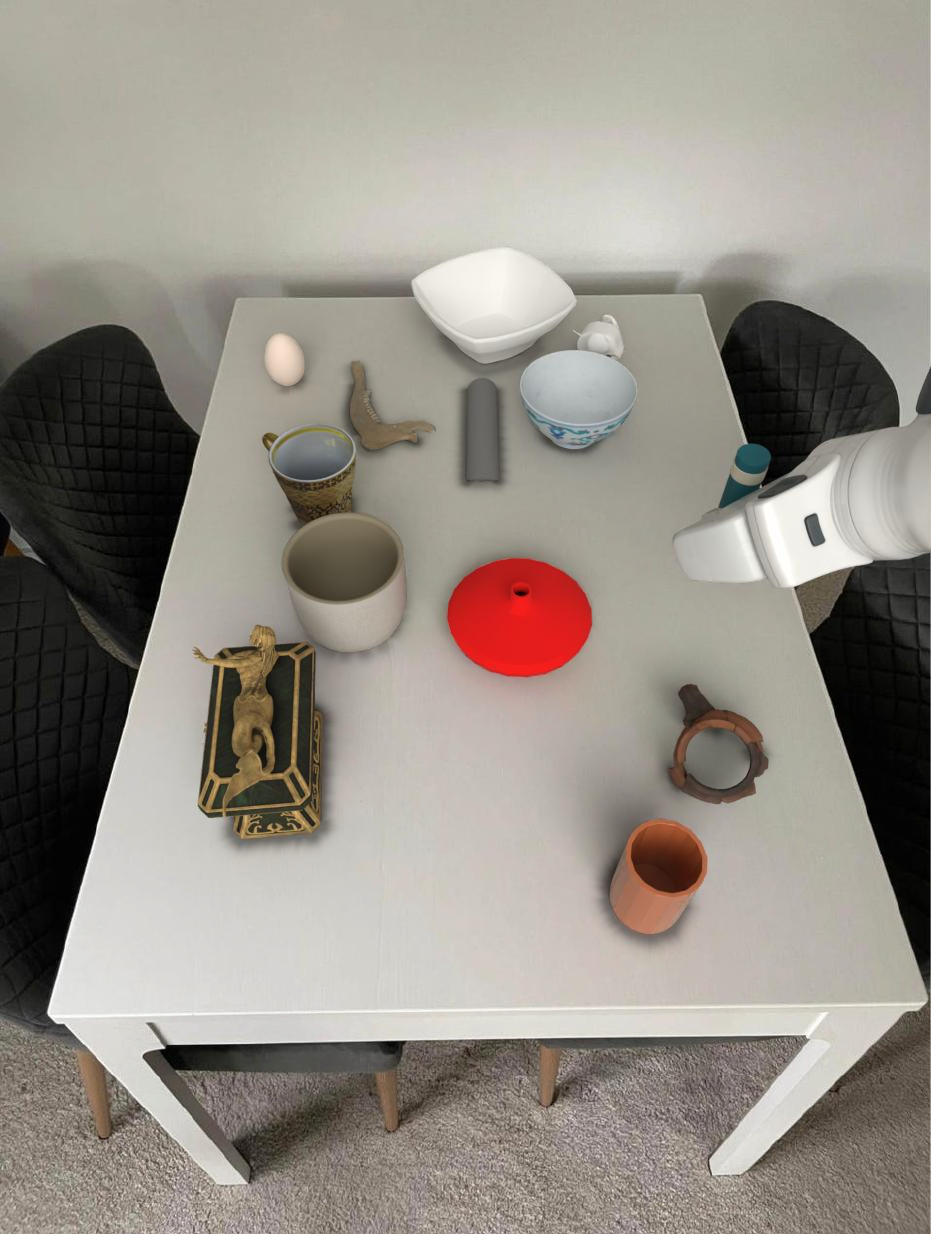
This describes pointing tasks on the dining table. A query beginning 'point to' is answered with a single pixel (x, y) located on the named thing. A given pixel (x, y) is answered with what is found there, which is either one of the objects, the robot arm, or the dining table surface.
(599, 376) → the chinaware
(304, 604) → the planter
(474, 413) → the half round rod
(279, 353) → the egg
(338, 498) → the ceramic cup
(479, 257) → the bowl
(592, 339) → the elephant figurine
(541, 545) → the dining table surface
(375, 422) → the jawbone
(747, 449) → the teal banded tube
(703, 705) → the broken brown pottery vessel
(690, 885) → the tumbler
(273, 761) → the decorative box
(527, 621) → the red disc with nozzle
